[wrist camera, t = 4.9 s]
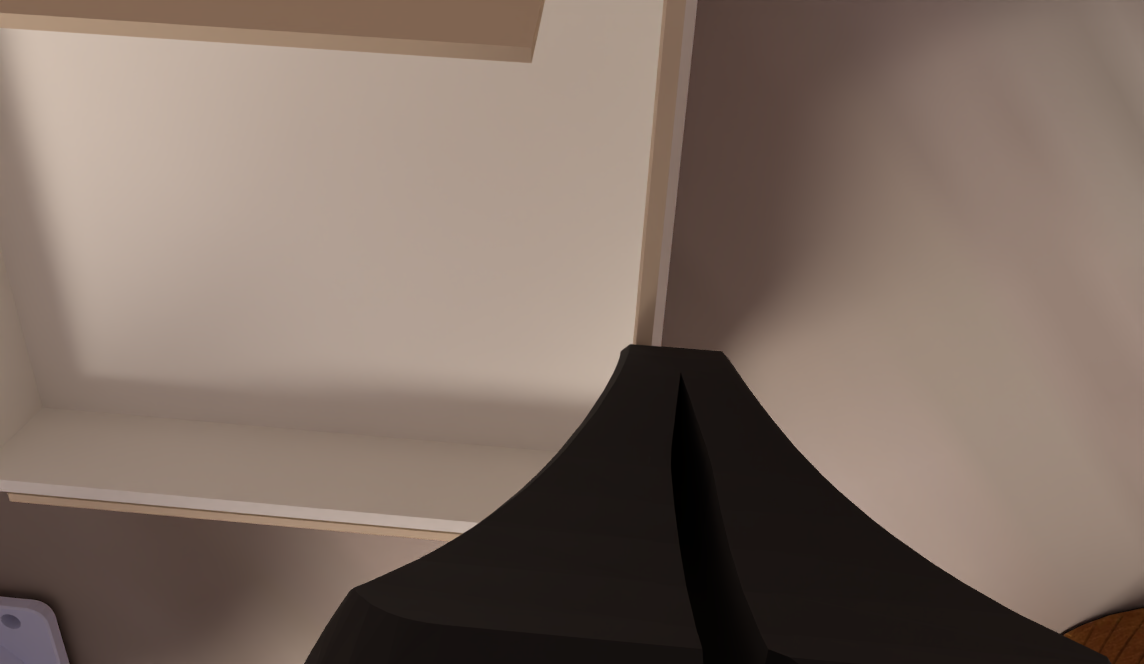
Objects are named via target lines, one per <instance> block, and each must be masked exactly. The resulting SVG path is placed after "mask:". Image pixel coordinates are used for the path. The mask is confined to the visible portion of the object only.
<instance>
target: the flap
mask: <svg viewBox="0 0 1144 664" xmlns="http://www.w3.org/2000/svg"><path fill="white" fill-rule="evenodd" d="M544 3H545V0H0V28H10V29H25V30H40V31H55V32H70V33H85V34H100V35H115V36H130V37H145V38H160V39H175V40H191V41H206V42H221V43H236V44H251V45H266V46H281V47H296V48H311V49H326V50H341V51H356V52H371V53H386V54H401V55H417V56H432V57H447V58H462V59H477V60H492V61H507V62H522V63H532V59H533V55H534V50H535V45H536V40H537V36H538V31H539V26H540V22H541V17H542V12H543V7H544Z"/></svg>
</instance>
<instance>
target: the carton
mask: <svg viewBox="0 0 1144 664" xmlns="http://www.w3.org/2000/svg"><path fill="white" fill-rule="evenodd" d="M663 1H664V0H545V3H544V7H543V12H542V17H541V22H540V26H539V31H538V36H537V40H536V45H535V50H534V55H533V59H532V63H522V62H507V61H492V60H477V59H462V58H447V57H432V56H417V55H401V54H386V53H371V52H356V51H341V50H326V49H311V48H296V47H281V46H266V45H251V44H236V43H221V42H206V41H191V40H175V39H160V38H145V37H130V36H115V35H100V34H85V33H70V32H55V31H40V30H25V29H10V28H0V491H4V492H9V493H8V497H9V500H10V501H11V502H22V503H33V504H44V505H55V506H66V507H77V508H88V509H99V510H110V511H121V512H132V513H143V514H154V515H165V516H176V517H187V518H198V519H209V520H220V521H231V522H242V523H253V524H264V525H275V526H286V527H297V528H308V529H319V530H330V531H341V532H352V533H363V534H374V535H385V536H396V537H407V538H417V539H428V540H439V541H452V540H453V539H455V538H456V537H458V536H460V535H461V534H463V533H464V532H466V531H468V530H469V529H471V528H472V527H474V526H475V525H477V524H478V523H479V522H481V521H482V520H483V519H485V518H486V517H487V516H489V515H490V514H492V513H493V512H494V511H495V510H496V509H498V508H499V507H500V506H501V505H503V504H504V503H505V502H506V501H507V500H509V499H510V498H511V497H512V496H513V495H515V494H516V493H517V492H518V491H519V490H521V489H522V488H523V487H524V486H525V485H526V484H527V483H528V482H529V481H530V480H531V479H532V478H533V477H534V476H536V475H537V474H538V473H539V472H540V471H541V470H542V469H543V468H544V467H545V466H546V464H547V463H548V462H549V461H550V460H551V459H552V458H553V457H554V456H555V455H556V454H557V453H558V451H559V450H560V449H561V448H562V447H563V445H564V444H565V443H566V442H567V440H568V439H569V438H570V437H571V435H572V434H573V433H574V432H575V431H576V429H577V428H578V427H579V426H580V424H581V423H582V422H583V420H584V419H585V418H586V416H587V415H588V413H589V412H590V410H591V409H592V407H593V406H594V404H595V403H596V401H597V400H598V398H599V397H600V395H601V394H602V392H603V391H604V389H605V387H606V385H607V384H608V382H609V380H610V378H611V376H612V374H613V372H614V370H615V368H616V366H617V363H618V360H619V357H620V352H621V350H623V349H624V348H625V347H627V346H628V345H630V344H633V337H634V326H635V315H636V303H637V292H638V281H639V270H640V259H641V247H642V236H643V225H644V214H645V203H646V191H647V180H648V169H649V158H650V147H651V135H652V124H653V113H654V102H655V91H656V80H657V68H658V57H659V46H660V35H661V24H662V12H663ZM697 2H698V0H686V7H685V17H684V27H683V37H682V47H681V57H680V67H679V77H678V87H677V97H676V107H675V116H674V126H673V136H672V146H671V156H670V166H669V176H668V186H667V196H666V206H665V216H664V226H663V236H662V246H661V256H660V266H659V276H658V286H657V296H656V306H655V316H654V326H653V336H652V346H660V347H661V342H662V332H663V323H664V313H665V304H666V294H667V285H668V276H669V266H670V257H671V247H672V238H673V228H674V219H675V209H676V200H677V191H678V181H679V172H680V162H681V153H682V143H683V134H684V124H685V115H686V106H687V96H688V87H689V77H690V68H691V58H692V49H693V39H694V30H695V21H696V11H697Z"/></svg>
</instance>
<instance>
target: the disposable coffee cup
mask: <svg viewBox="0 0 1144 664" xmlns="http://www.w3.org/2000/svg"><path fill="white" fill-rule="evenodd" d="M1063 636H1065V637H1067V638H1069V639H1071V640H1073V641H1075V642H1078V643H1080V644H1082V645H1084V646H1086V647H1088V648H1090V649H1092V650H1094V651H1096V652H1098V653H1100V654H1103V655H1105V656H1107V657H1108V659H1109V660H1110V662H1111V663H1112V664H1144V608H1141V609H1136V610H1132V611H1127V612H1122V613H1118V614H1113V615H1109V616H1106V617H1103V618H1101V619H1098V620H1095V621H1092V622H1089V623H1087V624H1084V625H1082V626H1080V627H1078V628H1076V629H1074V630H1072V631H1070V632H1068V633H1066V634H1064V635H1063Z"/></svg>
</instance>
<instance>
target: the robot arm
mask: <svg viewBox="0 0 1144 664" xmlns="http://www.w3.org/2000/svg"><path fill="white" fill-rule="evenodd" d="M0 664H69V661H68V657H67V654H66V650H65V647H64V644H63V640H62V637H61V633H60V630H59V627H58V623H57V620H56V616H55V614H54V612H53V610H52V609H51V608H50V607H49V606H48V605H47V604H45V603H43V602H41V601H37V600H32V599H21V598H11V597H1V596H0ZM304 664H1112V663H1111V662H1110V660H1109V659H1108V657H1107V656H1105V655H1103V654H1100V653H1098V652H1096V651H1094V650H1092V649H1090V648H1088V647H1086V646H1084V645H1082V644H1080V643H1078V642H1075V641H1073V640H1071V639H1069V638H1067V637H1065V636H1063V635H1061V634H1059V633H1057V632H1055V631H1053V630H1050V629H1048V628H1046V627H1044V626H1042V625H1040V624H1038V623H1036V622H1034V621H1032V620H1030V619H1028V618H1025V617H1023V616H1021V615H1019V614H1018V613H1016V612H1014V611H1012V610H1010V609H1008V608H1006V607H1005V606H1003V605H1001V604H999V603H998V602H996V601H994V600H992V599H991V598H989V597H987V596H985V595H984V594H982V593H980V592H978V591H977V590H975V589H973V588H971V587H970V586H968V585H966V584H965V583H963V582H961V581H960V580H958V579H956V578H955V577H953V576H952V575H950V574H949V573H947V572H945V571H944V570H942V569H941V568H939V567H937V566H936V565H934V564H933V563H931V562H930V561H928V560H927V559H926V558H924V557H923V556H921V555H920V554H918V553H917V552H916V551H914V550H913V549H911V548H910V547H909V546H907V545H906V544H904V543H903V542H901V541H900V540H899V539H897V538H896V537H894V536H893V535H892V534H890V533H889V532H888V531H886V530H885V529H884V528H882V527H881V526H880V525H879V524H877V523H876V522H875V521H873V520H872V519H871V518H870V517H869V516H867V515H866V514H865V513H864V512H863V511H862V510H860V509H859V508H858V507H857V506H856V505H855V504H853V503H852V502H851V501H850V500H849V499H848V498H846V497H845V496H844V495H843V494H842V493H841V492H839V491H838V490H837V489H836V488H835V487H834V486H833V485H832V484H831V483H830V482H829V481H828V480H827V479H826V478H824V477H823V476H822V475H821V474H820V473H819V471H818V470H817V469H816V468H815V467H814V466H813V465H812V464H811V463H810V462H809V461H808V460H807V459H806V458H805V457H804V456H803V455H802V454H801V453H800V452H799V451H798V450H797V448H796V447H795V446H794V445H793V444H792V443H791V442H790V440H789V439H788V438H787V437H786V435H785V434H784V433H783V432H782V431H781V429H780V428H779V427H778V426H777V424H776V423H775V422H774V421H773V420H772V418H771V417H770V416H769V415H768V413H767V412H766V411H765V409H764V408H763V407H762V406H761V404H760V403H759V401H758V400H757V399H756V397H755V396H754V395H753V393H752V392H751V391H750V389H749V388H748V386H747V385H746V384H745V382H744V381H743V379H742V378H741V376H740V375H739V374H738V372H737V371H736V369H735V368H734V366H733V365H732V363H731V362H730V360H729V359H728V358H727V357H726V356H725V354H724V353H723V352H721V351H709V350H697V349H684V348H672V347H660V346H647V345H635V344H630V345H628V346H627V347H625V348H624V349H623V350H621V352H620V357H619V360H618V363H617V366H616V368H615V370H614V372H613V374H612V376H611V378H610V380H609V382H608V384H607V385H606V387H605V389H604V391H603V392H602V394H601V395H600V397H599V398H598V400H597V401H596V403H595V404H594V406H593V407H592V409H591V410H590V412H589V413H588V415H587V416H586V418H585V419H584V420H583V422H582V423H581V424H580V426H579V427H578V428H577V429H576V431H575V432H574V433H573V434H572V435H571V437H570V438H569V439H568V440H567V442H566V443H565V444H564V445H563V447H562V448H561V449H560V450H559V451H558V453H557V454H556V455H555V456H554V457H553V458H552V459H551V460H550V461H549V462H548V463H547V464H546V466H545V467H544V468H543V469H542V470H541V471H540V472H539V473H538V474H537V475H536V476H534V477H533V478H532V479H531V480H530V481H529V482H528V483H527V484H526V485H525V486H524V487H523V488H522V489H521V490H519V491H518V492H517V493H516V494H515V495H513V496H512V497H511V498H510V499H509V500H507V501H506V502H505V503H504V504H503V505H501V506H500V507H499V508H498V509H496V510H495V511H494V512H493V513H492V514H490V515H489V516H487V517H486V518H485V519H483V520H482V521H481V522H479V523H478V524H477V525H475V526H474V527H472V528H471V529H469V530H468V531H466V532H464V533H463V534H461V535H460V536H458V537H456V538H455V539H453V540H452V541H450V542H448V543H447V544H445V545H443V546H442V547H440V548H438V549H436V550H435V551H433V552H431V553H429V554H427V555H425V556H423V557H422V558H420V559H418V560H416V561H414V562H411V563H409V564H407V565H405V566H403V567H400V568H398V569H396V570H394V571H392V572H389V573H387V574H385V575H383V576H381V577H378V578H376V579H374V580H372V581H370V582H367V583H365V584H362V585H360V586H357V587H355V588H353V589H352V590H351V591H350V592H349V593H348V594H347V596H346V597H345V599H344V600H343V602H342V603H341V604H340V606H339V608H338V609H337V611H336V612H335V614H334V615H333V617H332V618H331V620H330V621H329V623H328V624H327V626H326V627H325V629H324V631H323V632H322V634H321V636H320V638H319V639H318V641H317V643H316V644H315V646H314V648H313V649H312V651H311V653H310V654H309V656H308V658H307V660H306V662H305V663H304Z"/></svg>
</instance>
